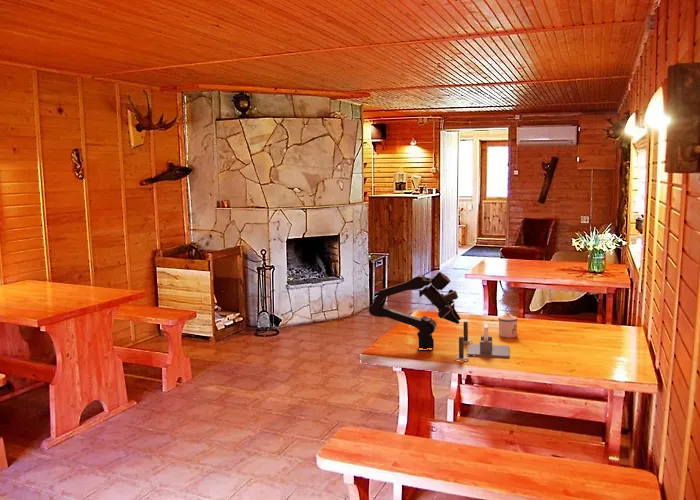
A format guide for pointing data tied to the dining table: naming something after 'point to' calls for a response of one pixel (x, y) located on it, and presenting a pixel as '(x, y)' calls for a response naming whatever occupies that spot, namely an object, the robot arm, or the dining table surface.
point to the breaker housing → (488, 349)
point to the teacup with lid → (507, 326)
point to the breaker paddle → (485, 332)
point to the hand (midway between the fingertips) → (459, 321)
